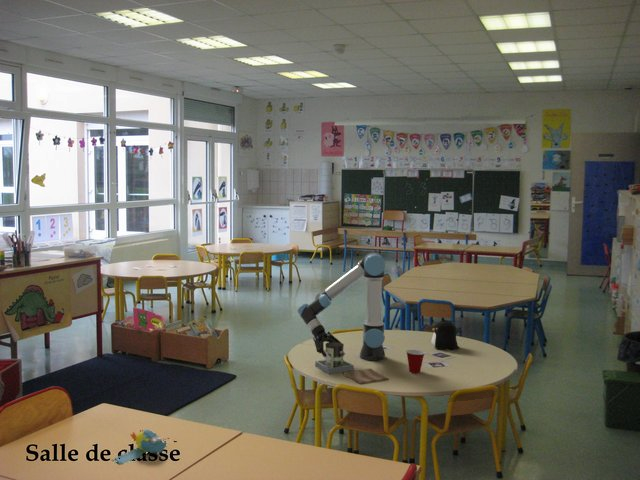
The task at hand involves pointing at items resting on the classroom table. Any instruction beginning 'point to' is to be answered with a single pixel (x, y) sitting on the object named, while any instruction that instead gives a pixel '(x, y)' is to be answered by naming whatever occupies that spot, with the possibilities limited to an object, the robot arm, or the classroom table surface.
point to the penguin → (444, 335)
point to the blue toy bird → (142, 446)
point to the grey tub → (344, 368)
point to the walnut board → (365, 376)
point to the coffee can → (334, 354)
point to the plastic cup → (415, 360)
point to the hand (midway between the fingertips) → (336, 358)
